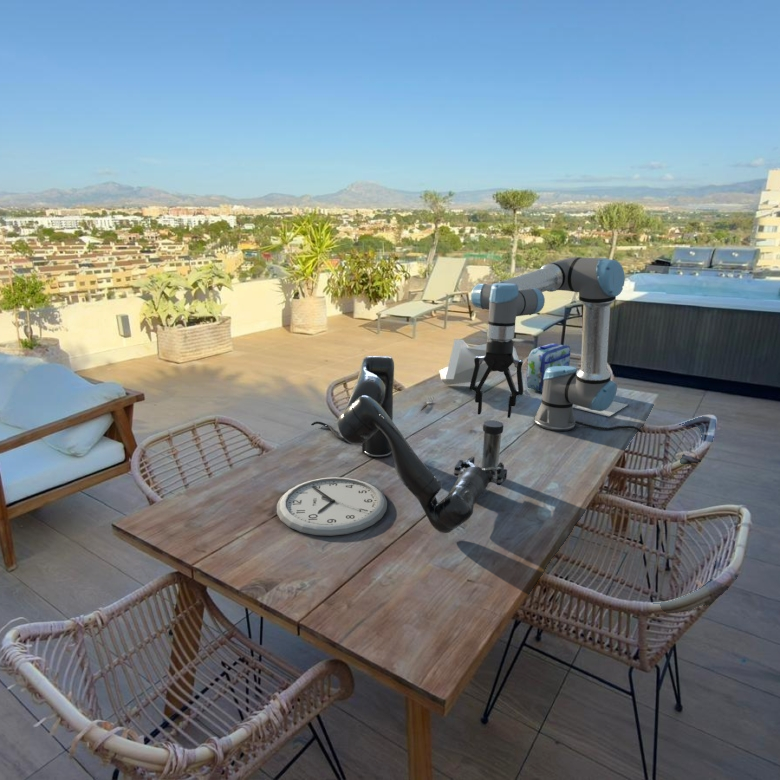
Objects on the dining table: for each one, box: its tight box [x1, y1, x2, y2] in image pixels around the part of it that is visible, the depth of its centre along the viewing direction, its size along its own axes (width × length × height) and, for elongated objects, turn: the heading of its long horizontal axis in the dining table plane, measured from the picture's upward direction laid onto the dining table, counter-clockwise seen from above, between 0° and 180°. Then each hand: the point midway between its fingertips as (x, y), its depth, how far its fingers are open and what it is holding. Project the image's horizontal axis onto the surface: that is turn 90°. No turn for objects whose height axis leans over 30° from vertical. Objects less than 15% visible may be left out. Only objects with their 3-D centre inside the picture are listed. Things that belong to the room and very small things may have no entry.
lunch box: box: [525, 343, 571, 393], centre depth 249 cm, size 26×11×21 cm, turn 134°
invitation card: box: [573, 400, 629, 418], centre depth 226 cm, size 21×1×15 cm
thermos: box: [481, 431, 502, 474], centre depth 158 cm, size 5×5×17 cm
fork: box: [420, 396, 435, 411], centre depth 223 cm, size 3×16×2 cm, turn 160°
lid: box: [482, 419, 504, 435], centre depth 156 cm, size 6×6×2 cm
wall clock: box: [276, 476, 388, 537], centre depth 142 cm, size 30×2×30 cm
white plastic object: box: [438, 338, 531, 399], centre depth 245 cm, size 37×45×31 cm
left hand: (487, 462), depth 156 cm, fingers open, 8 cm apart
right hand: (494, 414), depth 155 cm, fingers open, 8 cm apart
